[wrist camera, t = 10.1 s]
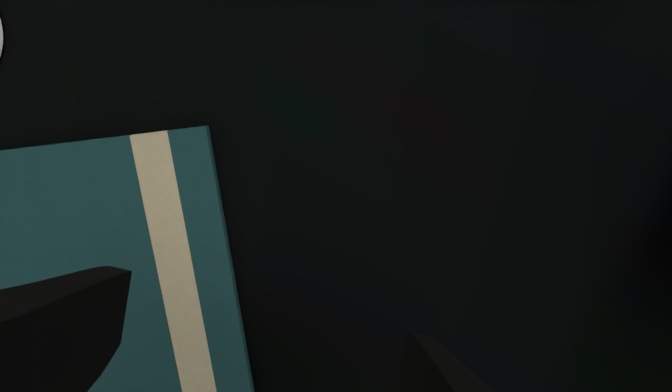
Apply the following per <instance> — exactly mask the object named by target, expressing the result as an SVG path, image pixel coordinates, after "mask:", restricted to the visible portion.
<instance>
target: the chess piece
mask: <svg viewBox="0 0 672 392" xmlns="http://www.w3.org/2000/svg"><path fill="white" fill-rule="evenodd" d="M2 48H3V28H2V23H1V19H0V56H1V53H2Z"/></svg>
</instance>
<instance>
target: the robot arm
mask: <svg viewBox="0 0 672 392" xmlns="http://www.w3.org/2000/svg"><path fill="white" fill-rule="evenodd" d="M131 275H132V271H130V270H126V269H121V268H117V267H112V266H100V267H94V268H90V269H85V270H81V271H77V272H73V273H69V274H65V275H61V276H57V277H53V278H49V279H45V280H41V281H37V282H32V283H28V284H23V285H19V286H14V287H9V288H5V289H0V392H88V390H89V389H90V388H91V387H92V386H93V384H94V383H95V382H96V381H97V380H98V378H99V377H100V376H101V374H102V373H103V371H104V370H105V368H106V367H107V365H108V364H109V362H110V361H111V359H112V357H113V356H114V354H115V352H116V351H117V349H118V347H119V346H120V344H121V339H122V333H123V326H124V320H125V313H126V307H127V300H128V294H129V288H130V281H131ZM392 392H494V391H492V390H491V389H490V388H489V387H488V386H486V385H485V384H484V383H483V382H482V381H481V380H480V379H479V378H477V377H476V376H475V375H474V374H473V373H472V372H471V371H470V370H469V369H468V368H467V367H466V366H465V365H463V364H462V363H461V362H460V361H459V360H458V359H457V358H456V357H455V356H454V355H453V354H452V353H451V352H450V351H449V350H448V349H446V348H445V347H444V346H443V345H442V344H441V343H440V342H438V341H437V340H436V339H434V338H433V337H429V336H424V335H420V334H415V333H411V332H410V333H409V336H408V339H407V343H406V346H405V350H404V353H403V357H402V360H401V363H400V367H399V370H398V374H397V377H396V381H395V384H394V388H393V391H392Z"/></svg>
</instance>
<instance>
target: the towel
mask: <svg viewBox="0 0 672 392" xmlns="http://www.w3.org/2000/svg"><path fill="white" fill-rule="evenodd" d="M100 266H112V267H117V268H121V269H126V270H130V271H132V275H131V281H130V288H129V294H128V300H127V307H126V313H125V320H124V326H123V333H122V339H121V344H120V346H119V347H118V349H117V351H116V352H115V354H114V356H113V357H112V359H111V361H110V362H109V364H108V365H107V367H106V368H105V370H104V371H103V373H102V374H101V376H100V377H99V378H98V380H97V381H96V382H95V383H94V384H93V386H92V387H91V388H90V389H89V390H88V392H254V386H253V380H252V374H251V369H250V363H249V357H248V351H247V345H246V339H245V334H244V328H243V322H242V316H241V310H240V305H239V299H238V293H237V287H236V281H235V275H234V270H233V264H232V258H231V252H230V246H229V240H228V235H227V229H226V223H225V217H224V211H223V206H222V200H221V194H220V188H219V182H218V176H217V171H216V165H215V159H214V153H213V147H212V141H211V136H210V130H209V126H199V127H191V128H183V129H175V130H166V131H158V132H150V133H141V134H133V135H125V136H116V137H108V138H100V139H91V140H83V141H75V142H66V143H58V144H50V145H41V146H33V147H25V148H16V149H8V150H0V289H5V288H9V287H14V286H19V285H23V284H28V283H32V282H37V281H41V280H45V279H49V278H53V277H57V276H61V275H65V274H69V273H73V272H77V271H81V270H85V269H90V268H94V267H100Z"/></svg>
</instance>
